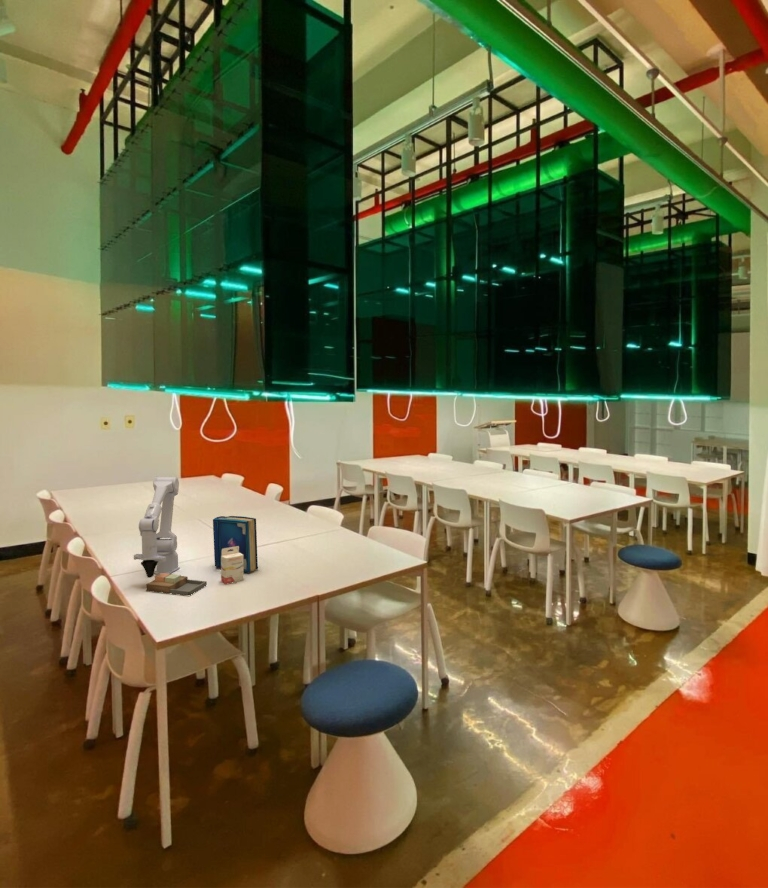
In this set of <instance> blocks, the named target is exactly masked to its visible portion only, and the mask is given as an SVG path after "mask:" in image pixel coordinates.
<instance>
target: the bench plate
mask: <svg viewBox="0 0 768 888" xmlns="http://www.w3.org/2000/svg"><path fill="white" fill-rule="evenodd" d="M187 580H188V576H185V575H181V580H179V581H178V582H176V583H167V582H158V581H155V579H153V580H152V581H150V582H148V583H146V587H145V588H146V592H150V591H154V592H153V593H159V592H163V593H162V594H167V593H170V589H175V590H176V589H178V588H180V587H181V586H183V585H185V584H187Z"/></svg>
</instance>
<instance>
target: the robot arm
mask: <svg viewBox="0 0 768 888" xmlns="http://www.w3.org/2000/svg"><path fill="white" fill-rule="evenodd" d="M152 483H153V484H152V486H153V490H154V492H153V493H154V494H153V497H152V498H153V499H152V501H151V503H150V504H148V505H147V509H146V511H145V513H144V516H143V517H142V519H140V520H139V523H138V530H139V534H140V535H139V536H140V537H141V553H136V554H135V553H134V555H133V560H140V561H141V562H140V565H141V566H142V567H143V569H144V571H145V573H146V577H147V578H149V579H150V578H152V577H154V574H155V575H159V574H161V573H167V574H173V573H174V572H176V571H178V570H180V569H181V568H180V566H179V554H178V552H177V551H176V550H177V549H178V537H177V534H175V533H174V532H172V526H173V525H172V523H173V515H174V514H173V512H174V502H175V496H177V495H178V493H179V486H180V481H179V478H178V477H177V476H156V477H154V479H153V481H152ZM159 524H160V525H159ZM158 529H159V531H158Z"/></svg>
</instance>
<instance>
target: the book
mask: <svg viewBox="0 0 768 888" xmlns="http://www.w3.org/2000/svg"><path fill="white" fill-rule="evenodd" d="M212 527H213V528H212V529H213V530H212V531H213V532H212V533H213V535H212V536H213V551H214V552H213V553H214V554H213V557H214V568H218V569H221V555H222V549H224V548H230V547H236V546H239V553H241V554H243V566H244V568H243V569H244V571H243V573H244V574H245V573H248V574H250V573H251V572H254V571H256V570H258V566H259V565H258V541H257V539H258V538H257V536H258V535H257V518H254V517H248V516H238V515H237V516H235V515H228V516H224V515H222V516H221V515H220V516H216V517H214V518H213V519H212ZM229 551H233V549H232V550H231V549H230V550H228V551H227V552H229Z"/></svg>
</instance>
